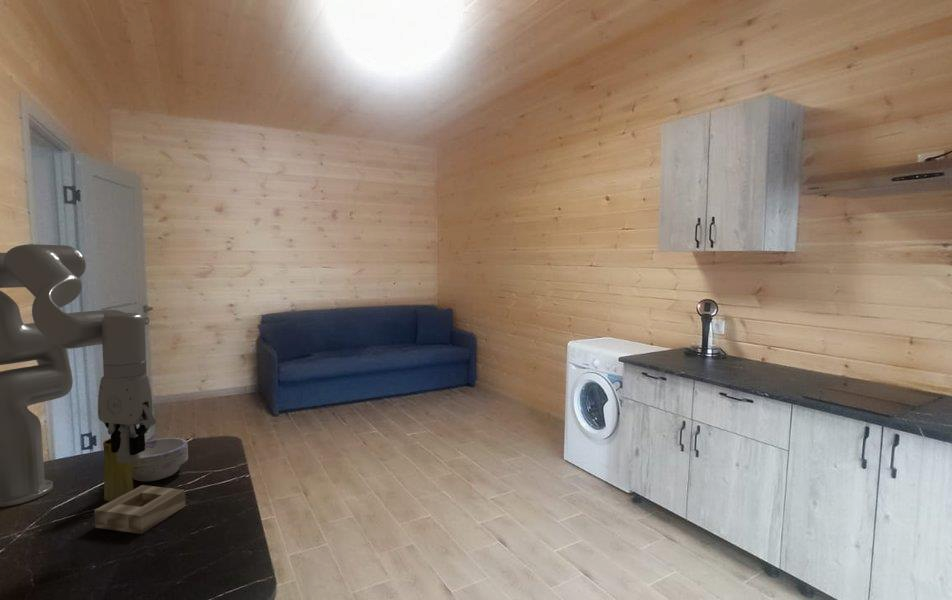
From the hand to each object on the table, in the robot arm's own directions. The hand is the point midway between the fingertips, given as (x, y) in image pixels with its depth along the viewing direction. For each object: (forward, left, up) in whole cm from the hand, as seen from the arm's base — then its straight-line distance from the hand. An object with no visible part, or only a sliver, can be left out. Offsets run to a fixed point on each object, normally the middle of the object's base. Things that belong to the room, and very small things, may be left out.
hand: (128, 450), depth 105 cm
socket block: (0, +3, -17) cm, 17 cm away
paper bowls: (-15, +22, -17) cm, 32 cm away
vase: (-14, +10, -17) cm, 24 cm away
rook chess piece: (0, 0, -2) cm, 2 cm away
